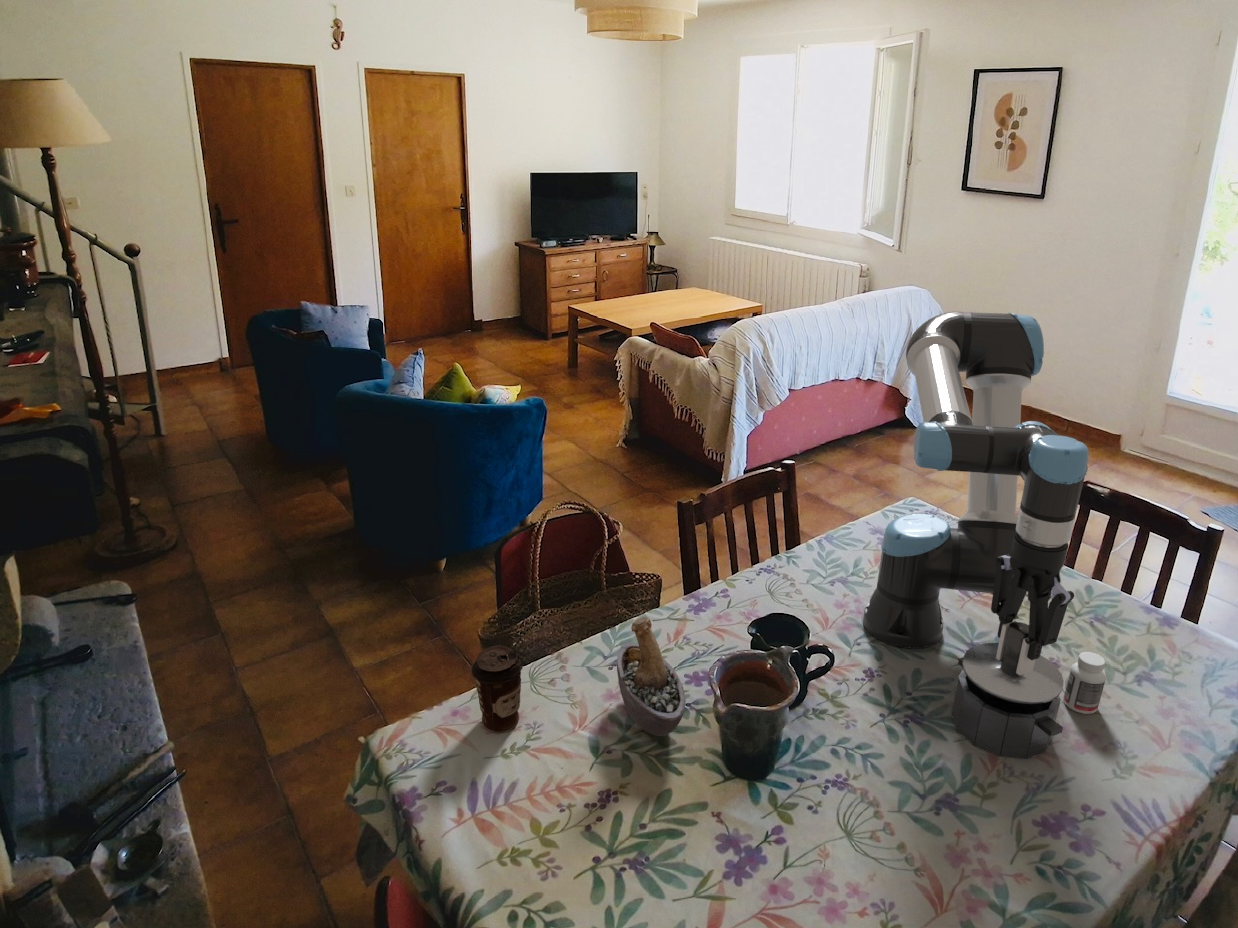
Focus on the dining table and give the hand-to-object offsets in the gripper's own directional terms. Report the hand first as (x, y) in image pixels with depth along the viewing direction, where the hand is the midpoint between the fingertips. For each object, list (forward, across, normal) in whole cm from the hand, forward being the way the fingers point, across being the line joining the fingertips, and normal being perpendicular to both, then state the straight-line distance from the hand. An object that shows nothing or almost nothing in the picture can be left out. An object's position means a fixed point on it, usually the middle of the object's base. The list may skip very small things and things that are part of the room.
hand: (1013, 664), depth 137 cm
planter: (+13, -24, -54) cm, 61 cm away
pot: (+13, 0, 0) cm, 13 cm away
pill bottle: (+13, +1, +17) cm, 21 cm away
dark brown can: (+13, -33, -77) cm, 85 cm away
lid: (+3, 0, 0) cm, 3 cm away
